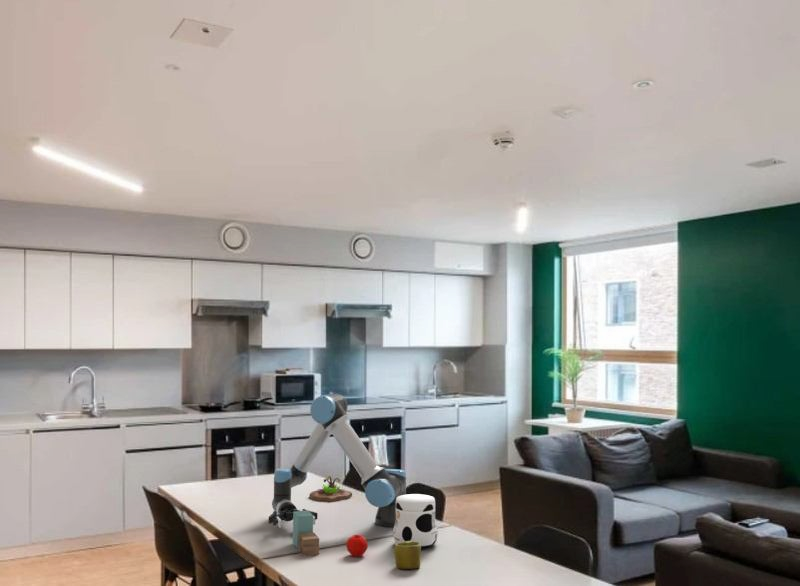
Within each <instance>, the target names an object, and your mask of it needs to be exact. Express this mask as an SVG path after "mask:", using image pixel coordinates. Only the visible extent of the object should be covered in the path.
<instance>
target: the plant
mask: <svg viewBox="0 0 800 586" xmlns="http://www.w3.org/2000/svg"><path fill="white" fill-rule="evenodd" d="M336 480H337V482H339V483H340V482H341V479H340V478H338V477H336V478H334V479H332V477H331V476H330V475H328V476H327V477H326V478H324V479H323V483H326V482H327V485H325V484H322V487H321V488H318V489H316V490H314V491H311V492H310V493H309V494H308V495H309V498H310V499H311V500H312V501H316V502H327V503H336V502H340V501H341V502H342V501H345V500H346V501H347V500H349V499H351V498H352V497H353V492H351V491H349V490H345V489H342V488H341V487H342V486H341V485H340V486H338V485H337V484H336V483H335V482H336Z"/></svg>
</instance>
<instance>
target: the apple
mask: <svg viewBox="0 0 800 586" xmlns="http://www.w3.org/2000/svg"><path fill="white" fill-rule="evenodd" d="M345 545H346V549H347V551H348V552H349V554H350V555H351V556H352V557H355V558H359V557H362V556H363V555H364V554H365V553H366V552H367V550H368V542H367V539H366V538H365V537H364V536H363V535H360V534H355V535H352V536H350V537H349V538H348V539H347V541H346V544H345Z"/></svg>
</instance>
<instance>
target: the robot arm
mask: <svg viewBox="0 0 800 586" xmlns="http://www.w3.org/2000/svg"><path fill="white" fill-rule="evenodd" d="M309 412H310V416H311V418H312V420H313V421H314V422H316V423H317V424H316V426H315V427H314V429H313V430H312V432H311V434H310V436H309V437H308V439H307V440H306V442H305V444H304V446H303V447H302V449H301V451H300V453H299V454H298V456H297V457H296V459H295V461H294V462H293V464H292V465H291V467H290V468H287V467H286V468H285V467H282V468H277V469H275V470H274V475H273V499H272V500H271V506H272V509H273V511H272V514H270V515H269V516H268V524H272V525H273V526H276V525H277V526H278V527H279V528H282V521H284V522H292V521H293V512H296V511H309V512H310V513H311V514H312V515H313V526H314V525H316V520H318V516H319V515H318V512H314V511H311V510H308V509H305V508H303V509H302V510H301V509H297V507H296V505H295V504H294V503H293V502H292V488H293V487H296V486H299V485H302V484H303V483H304V482H305V481H306V479H307V477H308V472H309V470H310V469H311V467H312V466H313V464H314V463H315V461H316V459H317V457H318V456H319V454H320V453H321V451H322V450H323V448H324V446H325V444H326V443H327V441H328V439H329V438H330V436H331V435H332V436H333V437H334V440H335V441H336V442H337V443H338V445H339V446H340V449H342V451H343V452H344V454H345V455H346V456H347V459H348V460H349V461H350V463H351V465H352V466H353V467H354V468H355V470H356V472H357V473H358V474H359V476H360V479H361V483H360V484H361V486H362V487H363V488H364V496H365V499H366V500H367V502H368V503H369V504H370V505H372V506H373V507H376V508H377V510H376V515H375V518H374V519H375V520H374V522H375V523H374V524H376V525H378V526H382V527H387V528H388V527H389V528H394V525H395V521H396V498H397V497H398V496H401V495H406V494H407V492H406V491H407V489H406V488H407V473H406V471H405V470H404V469H396V468H395V469H394V468H385V467H382V466H379V465H378V464H377V462H376V461H375V459H374V458H373V456H372V455H371V453H370V452H369V451H368V449H367V447H366V446H365V445H364V443H363V442H362V440H361V439H360V437H359V436H358V434H357V433H356V431H355V429H354V428H353V427H352V426H351V424H350V422H349V420H348V413H347V412H348V401H347V400H346V398H345V397H344V396H343V395H342V394H339V393H329V394H321V395H320V396H317V397H316V398H314V399H313V401H312V403H311V404H310V409H309Z"/></svg>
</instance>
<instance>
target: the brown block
mask: <svg viewBox="0 0 800 586" xmlns="http://www.w3.org/2000/svg"><path fill="white" fill-rule="evenodd" d="M297 551H298V552H299V553H300V554H301V555H302V556H303V557H309V556H316V555H317V556H318V555H320V537H319V536H318V535H317V534H316V532H314V531H313V532H307V533H298V548H297Z"/></svg>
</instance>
